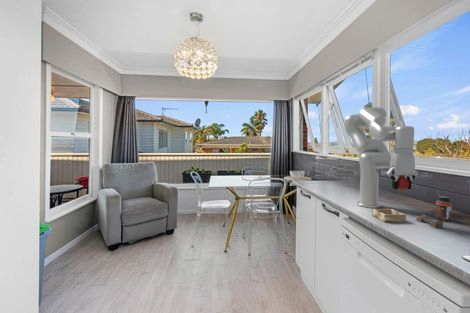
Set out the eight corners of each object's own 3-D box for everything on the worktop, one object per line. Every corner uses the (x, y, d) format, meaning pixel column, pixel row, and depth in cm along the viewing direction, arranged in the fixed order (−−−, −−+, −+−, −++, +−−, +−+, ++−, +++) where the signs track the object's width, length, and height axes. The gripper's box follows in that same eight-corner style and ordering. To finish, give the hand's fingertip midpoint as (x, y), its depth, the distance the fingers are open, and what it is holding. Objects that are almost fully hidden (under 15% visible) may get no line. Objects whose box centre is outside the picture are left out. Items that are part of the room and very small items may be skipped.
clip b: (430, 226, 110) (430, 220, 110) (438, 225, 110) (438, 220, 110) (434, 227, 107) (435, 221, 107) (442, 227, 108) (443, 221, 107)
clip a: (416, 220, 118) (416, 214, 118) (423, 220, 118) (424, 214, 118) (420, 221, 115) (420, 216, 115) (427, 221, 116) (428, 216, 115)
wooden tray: (371, 215, 125) (372, 209, 125) (391, 215, 125) (391, 208, 125) (384, 222, 115) (385, 214, 115) (405, 222, 115) (405, 214, 115)
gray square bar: (417, 218, 119) (417, 216, 119) (420, 218, 119) (420, 216, 119) (439, 227, 107) (439, 224, 107) (441, 227, 107) (442, 224, 107)
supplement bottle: (431, 218, 121) (433, 195, 120) (439, 217, 123) (440, 194, 122) (445, 222, 115) (447, 198, 115) (453, 220, 117) (455, 197, 117)
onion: (395, 189, 123) (395, 173, 122) (409, 190, 119) (409, 174, 119) (393, 191, 118) (394, 174, 118) (408, 192, 115) (409, 176, 114)
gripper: (414, 151, 122) (412, 187, 123) (381, 151, 121) (379, 187, 122) (426, 152, 114) (424, 190, 116) (391, 152, 113) (389, 190, 115)
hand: (401, 188), depth 119 cm, fingers closed on onion, 5 cm apart
